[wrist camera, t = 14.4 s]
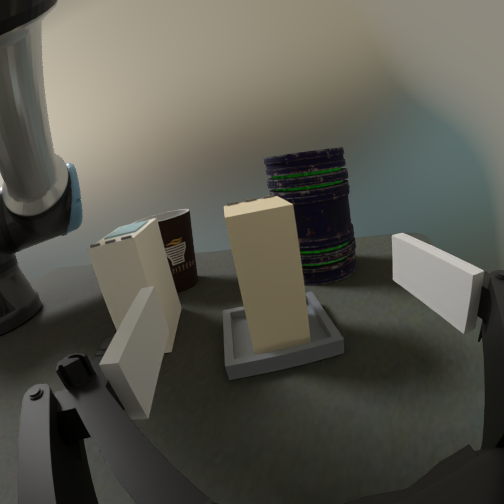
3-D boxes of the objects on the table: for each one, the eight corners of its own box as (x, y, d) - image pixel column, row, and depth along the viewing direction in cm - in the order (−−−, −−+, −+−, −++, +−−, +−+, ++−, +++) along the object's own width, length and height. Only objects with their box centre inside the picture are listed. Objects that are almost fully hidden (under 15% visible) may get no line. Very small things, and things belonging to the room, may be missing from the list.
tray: (229, 380, 21) (224, 366, 21) (225, 322, 30) (222, 310, 29) (344, 353, 21) (343, 339, 21) (312, 303, 30) (311, 291, 30)
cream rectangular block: (255, 356, 22) (224, 214, 19) (248, 322, 28) (223, 203, 24) (310, 343, 23) (292, 201, 19) (294, 312, 28) (276, 193, 25)
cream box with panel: (128, 357, 26) (86, 246, 22) (147, 314, 34) (119, 225, 31) (171, 351, 26) (133, 235, 22) (181, 308, 34) (156, 216, 31)
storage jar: (286, 259, 44) (268, 157, 40) (352, 252, 42) (339, 147, 37) (278, 289, 35) (255, 159, 30) (362, 281, 32) (348, 146, 28)
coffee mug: (204, 268, 47) (190, 206, 44) (206, 289, 39) (188, 214, 36) (135, 284, 45) (118, 224, 42) (124, 307, 37) (101, 236, 34)
